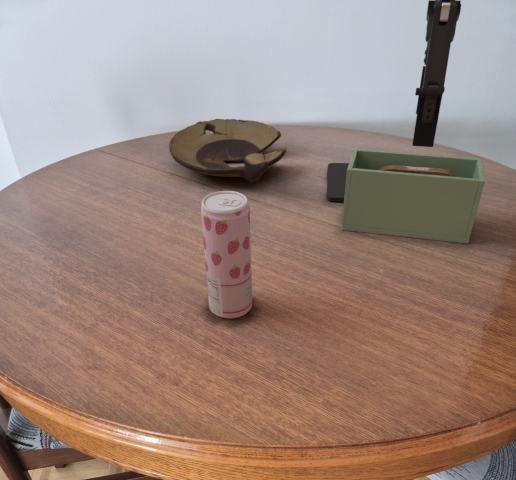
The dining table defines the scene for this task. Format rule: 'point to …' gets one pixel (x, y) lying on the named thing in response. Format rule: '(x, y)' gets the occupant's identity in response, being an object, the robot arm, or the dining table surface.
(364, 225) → the waste bin
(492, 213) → the dining table surface
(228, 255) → the beverage can
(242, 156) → the broken brown bowl
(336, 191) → the phone
